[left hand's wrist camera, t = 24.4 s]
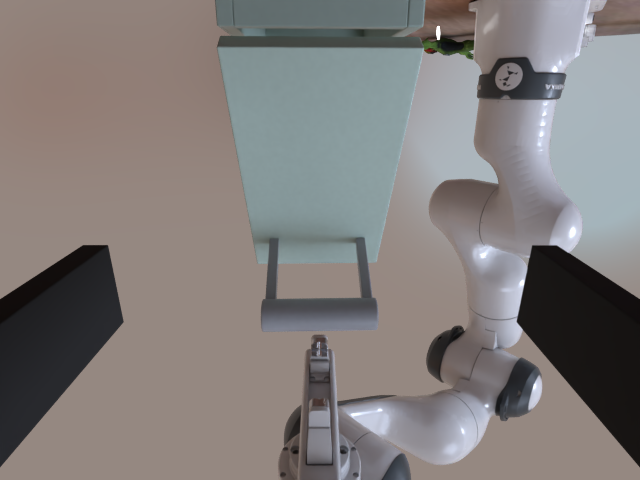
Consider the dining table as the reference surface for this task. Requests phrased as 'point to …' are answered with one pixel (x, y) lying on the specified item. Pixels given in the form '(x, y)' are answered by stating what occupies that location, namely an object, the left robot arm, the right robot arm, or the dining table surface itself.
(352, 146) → the lid
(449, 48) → the toy
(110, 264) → the left robot arm
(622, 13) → the dining table surface
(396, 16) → the chest
